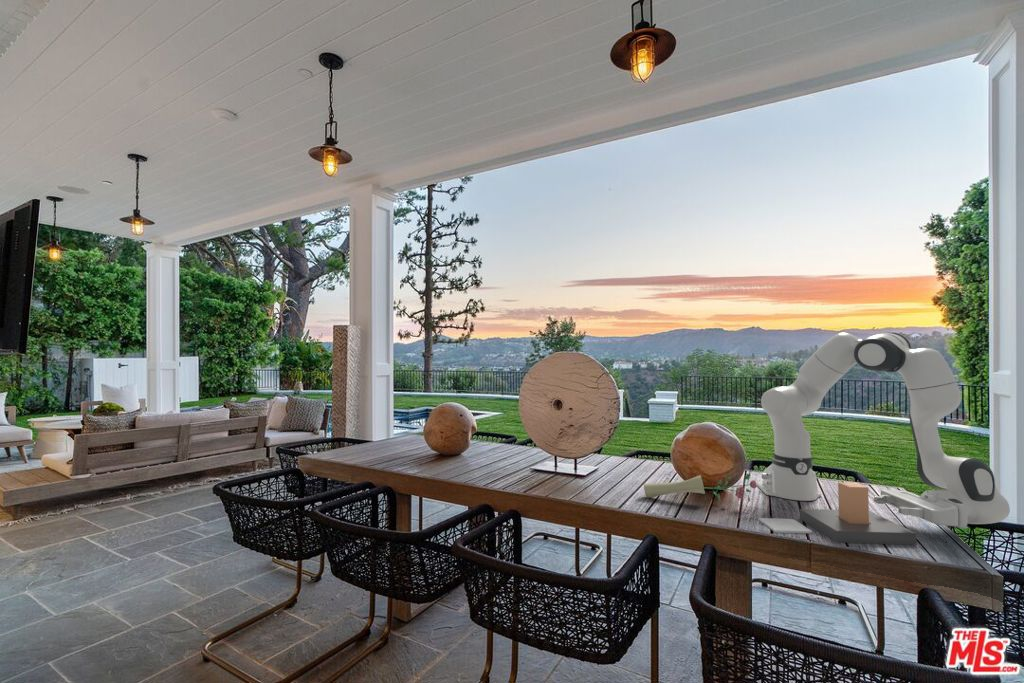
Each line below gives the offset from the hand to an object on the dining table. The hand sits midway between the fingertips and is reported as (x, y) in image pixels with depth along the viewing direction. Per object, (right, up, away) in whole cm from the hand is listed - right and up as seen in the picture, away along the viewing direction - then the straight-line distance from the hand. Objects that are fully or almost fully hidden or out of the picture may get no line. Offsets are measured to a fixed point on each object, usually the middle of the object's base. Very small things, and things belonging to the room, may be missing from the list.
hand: (887, 505), depth 131 cm
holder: (-9, -7, 0) cm, 12 cm away
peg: (-9, -7, 0) cm, 12 cm away
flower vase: (-44, -8, +24) cm, 51 cm away
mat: (-27, -8, +3) cm, 28 cm away
